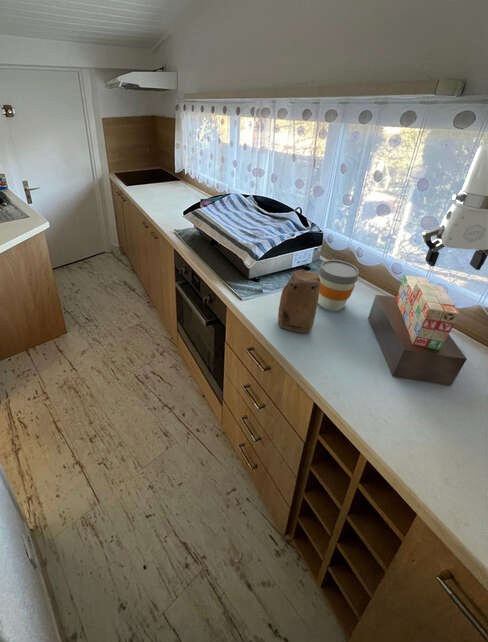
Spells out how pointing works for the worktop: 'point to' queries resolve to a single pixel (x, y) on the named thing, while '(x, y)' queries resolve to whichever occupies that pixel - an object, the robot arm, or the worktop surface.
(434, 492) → the worktop surface
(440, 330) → the stack of blocks
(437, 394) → the worktop surface
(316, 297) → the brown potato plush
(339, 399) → the worktop surface
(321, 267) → the reusable coffee cup
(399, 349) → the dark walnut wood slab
